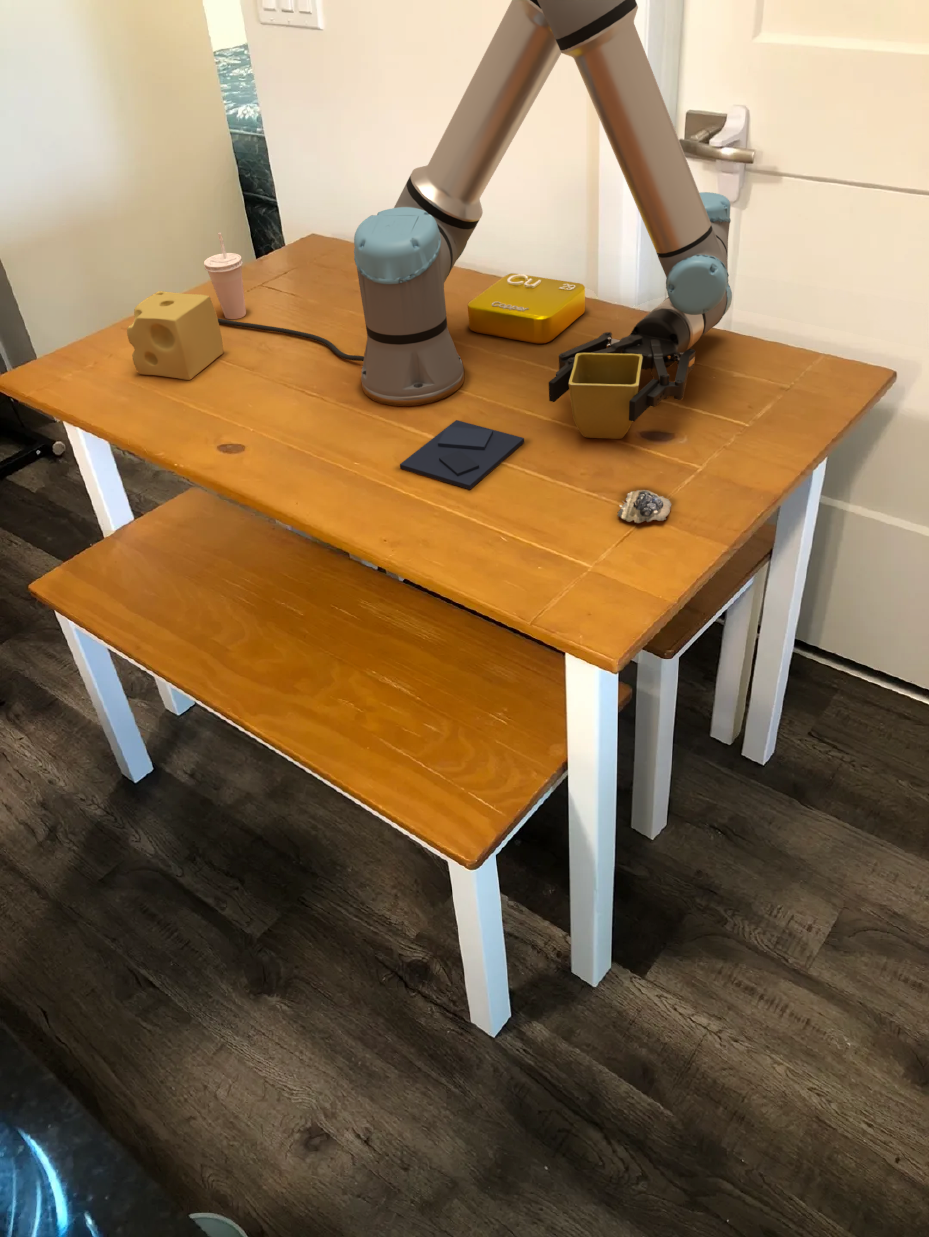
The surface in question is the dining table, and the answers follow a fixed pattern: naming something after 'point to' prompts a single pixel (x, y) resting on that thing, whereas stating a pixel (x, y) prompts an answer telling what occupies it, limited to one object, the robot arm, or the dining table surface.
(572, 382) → the flower pot
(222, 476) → the dining table surface
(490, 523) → the dining table surface
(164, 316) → the cheese
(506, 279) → the element tile
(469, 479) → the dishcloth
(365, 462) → the dining table surface
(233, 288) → the smoothie
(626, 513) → the grey mineral rock
